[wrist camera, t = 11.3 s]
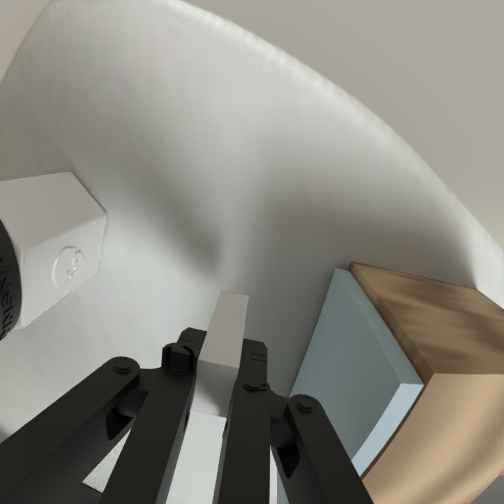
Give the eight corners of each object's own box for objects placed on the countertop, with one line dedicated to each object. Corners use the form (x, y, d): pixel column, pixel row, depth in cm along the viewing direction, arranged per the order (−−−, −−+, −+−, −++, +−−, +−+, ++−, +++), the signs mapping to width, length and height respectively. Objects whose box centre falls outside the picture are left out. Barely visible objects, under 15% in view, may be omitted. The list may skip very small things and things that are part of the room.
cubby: (291, 426, 25) (297, 547, 13) (351, 261, 21) (433, 373, 9) (403, 431, 25) (440, 528, 13) (477, 289, 21) (574, 370, 9)
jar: (98, 297, 23) (4, 386, 11) (25, 263, 22) (-74, 321, 11) (117, 184, 20) (-12, 216, 9) (35, 161, 20) (-86, 178, 8)
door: (275, 427, 25) (275, 548, 13) (334, 266, 21) (403, 386, 9) (286, 428, 25) (290, 549, 13) (348, 269, 21) (425, 388, 9)
